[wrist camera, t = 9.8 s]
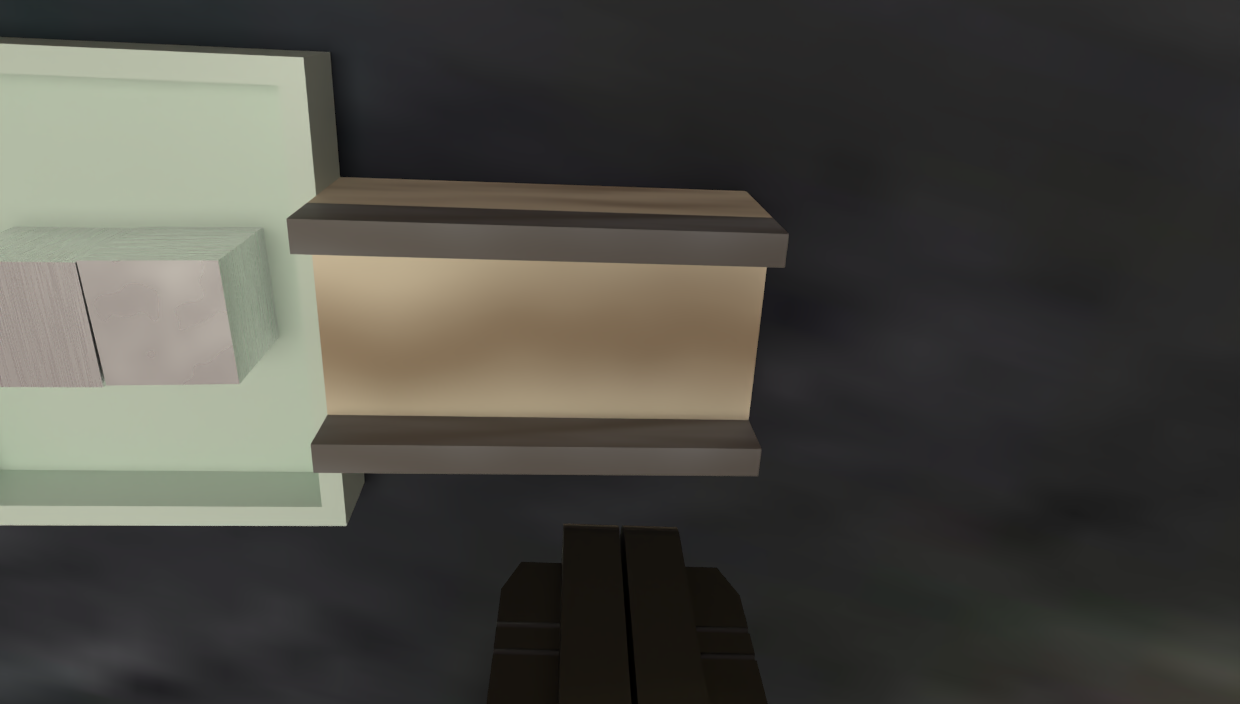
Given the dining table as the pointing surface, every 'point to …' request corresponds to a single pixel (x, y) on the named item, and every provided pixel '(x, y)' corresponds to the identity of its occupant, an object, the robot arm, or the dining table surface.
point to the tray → (172, 197)
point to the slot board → (536, 326)
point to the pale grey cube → (48, 307)
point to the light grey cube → (180, 305)
